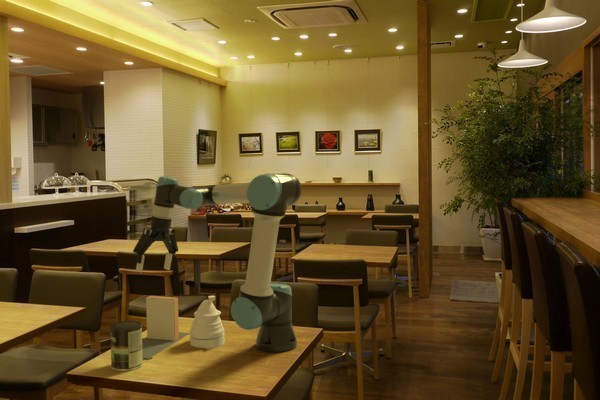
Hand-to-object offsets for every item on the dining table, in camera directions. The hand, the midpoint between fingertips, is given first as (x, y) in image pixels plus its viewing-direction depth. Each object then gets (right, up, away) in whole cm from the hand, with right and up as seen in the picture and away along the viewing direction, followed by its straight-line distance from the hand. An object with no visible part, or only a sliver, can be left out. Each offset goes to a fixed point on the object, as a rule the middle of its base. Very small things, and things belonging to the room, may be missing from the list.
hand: (153, 270), depth 216 cm
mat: (+2, -27, -7) cm, 28 cm away
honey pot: (+22, -27, -6) cm, 35 cm away
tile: (+4, -26, -1) cm, 26 cm away
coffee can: (-1, -29, -29) cm, 41 cm away
